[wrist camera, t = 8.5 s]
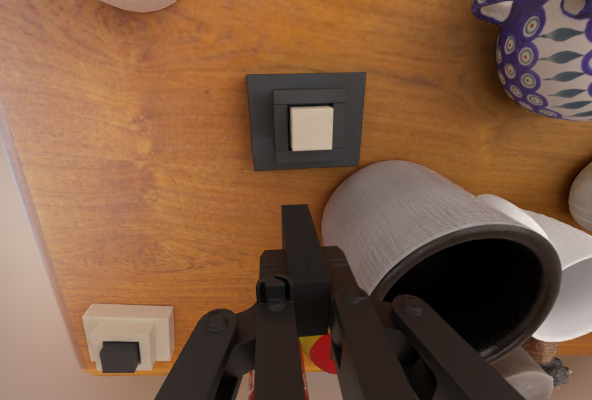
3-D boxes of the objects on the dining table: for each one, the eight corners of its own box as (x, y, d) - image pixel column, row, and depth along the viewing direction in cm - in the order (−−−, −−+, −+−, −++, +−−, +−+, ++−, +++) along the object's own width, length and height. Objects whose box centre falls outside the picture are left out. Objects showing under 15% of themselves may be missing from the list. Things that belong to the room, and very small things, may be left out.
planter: (362, 288, 39) (418, 408, 25) (292, 214, 33) (313, 317, 19) (462, 222, 36) (588, 316, 22) (405, 127, 30) (530, 173, 16)
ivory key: (290, 146, 26) (292, 151, 24) (289, 106, 25) (291, 109, 23) (328, 145, 26) (332, 149, 25) (329, 105, 25) (333, 107, 23)
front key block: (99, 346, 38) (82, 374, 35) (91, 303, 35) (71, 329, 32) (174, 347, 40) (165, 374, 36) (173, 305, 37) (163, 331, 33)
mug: (413, 206, 34) (492, 274, 23) (493, 150, 32) (625, 194, 21) (459, 275, 40) (541, 359, 28) (530, 232, 38) (649, 302, 26)
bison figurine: (513, 270, 41) (584, 326, 32) (553, 271, 42) (633, 325, 33) (481, 328, 46) (536, 391, 37) (518, 328, 47) (580, 389, 38)
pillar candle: (396, 312, 42) (459, 426, 28) (446, 270, 39) (541, 373, 26) (433, 337, 45) (506, 449, 32) (481, 299, 43) (583, 404, 29)
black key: (109, 359, 35) (102, 373, 33) (106, 339, 33) (98, 352, 32) (140, 359, 35) (134, 373, 34) (138, 340, 34) (132, 353, 32)
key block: (254, 165, 30) (253, 177, 26) (247, 74, 26) (244, 74, 23) (352, 160, 31) (364, 171, 27) (359, 72, 27) (373, 72, 24)
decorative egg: (338, 326, 42) (358, 395, 33) (287, 319, 40) (293, 390, 31) (358, 285, 39) (387, 349, 30) (304, 275, 37) (317, 339, 28)
